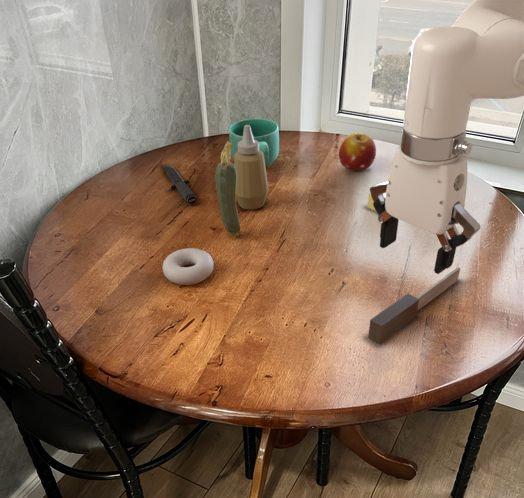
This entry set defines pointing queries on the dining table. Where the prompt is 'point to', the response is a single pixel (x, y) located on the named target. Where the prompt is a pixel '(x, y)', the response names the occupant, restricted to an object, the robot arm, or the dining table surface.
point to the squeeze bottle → (250, 172)
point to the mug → (257, 137)
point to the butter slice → (372, 201)
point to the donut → (188, 275)
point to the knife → (181, 185)
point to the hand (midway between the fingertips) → (413, 256)
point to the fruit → (357, 152)
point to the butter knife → (406, 309)
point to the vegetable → (227, 191)
